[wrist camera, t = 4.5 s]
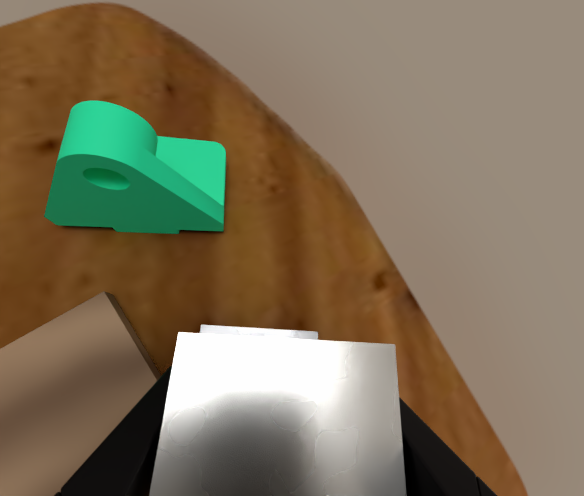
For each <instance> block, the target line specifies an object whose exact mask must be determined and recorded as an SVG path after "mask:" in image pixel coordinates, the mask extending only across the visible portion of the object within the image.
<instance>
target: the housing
mask: <svg viewBox="0 0 584 496" xmlns="http://www.w3.org/2000/svg"><path fill="white" fill-rule="evenodd" d="M149 496H406V483H405V470H404V457H403V444H402V431H401V418H400V405H399V392H398V379H397V366H396V352H395V344H379V343H361V342H343V341H325V340H318V332H312V331H296V330H279V329H263V328H246V327H230V326H214V325H201V330H200V333H182V332H178V338H177V343H176V349H175V354H174V360H173V366H172V371H171V377H170V382H169V388H168V393H167V399H166V405H165V410H164V416H163V421H162V427H161V432H160V438H159V444H158V449H157V455H156V460H155V466H154V472H153V477H152V483H151V488H150V494H149Z"/></svg>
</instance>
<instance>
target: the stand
mask: <svg viewBox="0 0 584 496" xmlns="http://www.w3.org/2000/svg"><path fill="white" fill-rule="evenodd" d="M160 377H161V375H160V373H159V372H158V370H157V368H156V367H155V365H154V363H153V362H152V360H151V358H150V357H149V355H148V353H147V352H146V350H145V348H144V346H143V345H142V343H141V341H140V340H139V338H138V336H137V335H136V333H135V331H134V330H133V328H132V326H131V325H130V323H129V321H128V320H127V318H126V316H125V315H124V313H123V311H122V310H121V308H120V306H119V305H118V303H117V301H116V300H115V298H114V296H113V295H112V294H109V293H107V292H102V293H100V294H98V295H97V296H95V297H93V298H91V299H89V300H88V301H86V302H84V303H82V304H80V305H79V306H77V307H75V308H73V309H71V310H70V311H68V312H66V313H64V314H62V315H61V316H59V317H57V318H55V319H53V320H52V321H50V322H48V323H46V324H44V325H43V326H41V327H39V328H37V329H35V330H34V331H32V332H30V333H28V334H26V335H25V336H23V337H21V338H19V339H17V340H16V341H14V342H12V343H10V344H9V345H7V346H5V347H3V348H1V349H0V496H54V495H55V494H56V493H57V492H61V487H62V486H63V485H64V484H65V483H66V482H67V481H68V480H69V478H70V477H71V476H72V475H73V474H74V473H75V472H76V471H77V470H78V468H79V467H80V466H81V465H82V464H83V463H84V462H85V461H86V459H87V458H88V457H89V456H90V455H91V454H92V453H93V452H94V451H95V449H96V448H97V447H98V446H99V445H100V444H101V443H102V442H103V441H104V439H105V438H106V437H107V436H108V435H109V434H110V433H111V432H112V430H113V429H114V428H115V427H116V426H117V425H118V424H119V423H120V422H121V420H122V419H123V418H124V417H125V416H126V415H127V414H128V413H129V412H130V410H131V409H132V408H133V407H134V406H135V405H136V404H137V403H138V402H139V400H140V399H141V398H142V397H143V396H144V395H145V394H146V393H147V391H148V390H149V389H150V388H151V387H152V386H153V385H154V384H155V383H156V381H157V380H158V379H159V378H160Z"/></svg>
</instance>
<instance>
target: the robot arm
mask: <svg viewBox="0 0 584 496" xmlns="http://www.w3.org/2000/svg"><path fill="white" fill-rule="evenodd" d="M172 366H173V365H172ZM172 366H170V367H169V368H168V369H167V370H166V371H165V373H164V374H163V375H162V376H161V377H160V378H159V379H158V380H157V381H156V383H155V384H154V385H153V386H152V387H151V388H150V389H149V390H148V391H147V393H146V394H145V395H144V396H143V397H142V398H141V399H140V400H139V402H138V403H137V404H136V405H135V406H134V407H133V408H132V409H131V410H130V412H129V413H128V414H127V415H126V416H125V417H124V418H123V419H122V420H121V422H120V423H119V424H118V425H117V426H116V427H115V428H114V429H113V430H112V432H111V433H110V434H109V435H108V436H107V437H106V438H105V439H104V441H103V442H102V443H101V444H100V445H99V446H98V447H97V448H96V449H95V451H94V452H93V453H92V454H91V455H90V456H89V457H88V458H87V459H86V461H85V462H84V463H83V464H82V465H81V466H80V467H79V468H78V470H77V471H76V472H75V473H74V474H73V475H72V476H71V477H70V478H69V480H68V481H67V482H66V483H65V484H64V485H63V486H62V487H61V492H57V493H56V494H55V495H54V496H149V494H150V488H151V483H152V477H153V472H154V466H155V460H156V455H157V449H158V444H159V438H160V432H161V427H162V421H163V416H164V410H165V405H166V399H167V393H168V388H169V382H170V377H171V371H172ZM399 405H400V418H401V431H402V444H403V457H404V470H405V483H406V496H497V495H496V494H495V493H494V492H493V491H492V490H491V489H490V488H489V487H488V486H487V485H486V484H485V483H484V482H483V481H482V480H481V479H480V478H479V477H476V474H475V473H474V472H473V471H472V470H471V469H470V468H469V467H468V466H467V465H466V464H465V463H464V462H463V461H462V460H461V459H460V458H459V457H458V456H457V455H456V454H455V453H454V452H453V451H452V450H451V449H450V448H449V447H448V446H447V445H446V444H445V443H444V442H443V441H442V440H441V439H440V438H439V437H438V436H437V435H436V434H435V433H434V432H433V431H432V430H431V429H430V428H429V427H428V426H427V425H426V424H425V423H424V422H423V421H422V420H421V419H420V418H419V417H418V416H417V415H416V414H415V413H414V411H413V410H412V409H411V408H410V407H409V406H408V405H407V404H406V403H405V402H404V401H403V400H402V399H401V398H400V397H399Z"/></svg>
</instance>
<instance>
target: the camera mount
mask: <svg viewBox="0 0 584 496" xmlns="http://www.w3.org/2000/svg"><path fill="white" fill-rule="evenodd" d="M225 179H226V151H225V149H224V147H223V146H222V145H221V144H219V143H217V142H211V141H201V140H191V139H180V138H170V137H160V136H157V135H156V132H155V131H154V129H153V128H152V127H151V125H150V124H149V123H148V122H147V121H145V120H144V119H143V118H142V117H140V116H139V115H137V114H136V113H134V112H132V111H130V110H128V109H126V108H124V107H121V106H119V105H116V104H112V103H108V102H103V101H85V102H81V103H78V104H76V105H75V106H74V107H73V108H72V109H71V112H70V115H69V119H68V123H67V126H66V130H65V134H64V137H63V141H62V145H61V148H60V152H59V156H58V159H57V163H56V167H55V172H54V176H53V180H52V185H51V189H50V193H49V198H48V202H47V206H46V211H45V215H44V217H46V218H47V219H49V220H50V221H52V222H53V223H54V224H56V225H62V226H90V227H112V228H113V229H114V230H115V231H117V232H140V233H169V234H179V230H200V231H223V228H224V203H225Z"/></svg>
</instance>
